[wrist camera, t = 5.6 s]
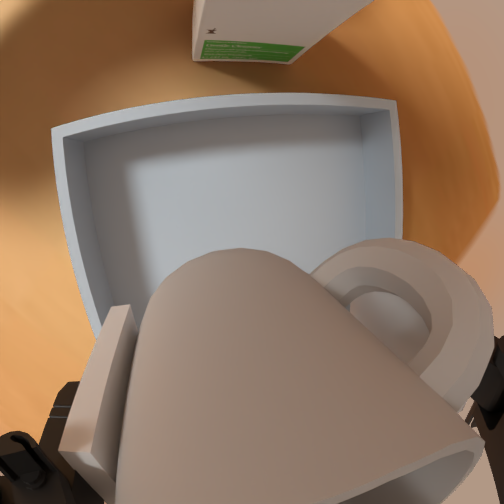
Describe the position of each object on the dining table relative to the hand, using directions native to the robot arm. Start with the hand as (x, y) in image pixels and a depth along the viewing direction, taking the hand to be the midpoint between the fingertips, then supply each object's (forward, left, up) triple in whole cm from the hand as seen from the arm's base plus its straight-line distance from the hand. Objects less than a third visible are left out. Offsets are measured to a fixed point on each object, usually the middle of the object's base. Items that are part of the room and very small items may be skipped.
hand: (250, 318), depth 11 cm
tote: (0, +2, -13) cm, 13 cm away
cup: (0, 0, 0) cm, 1 cm away
